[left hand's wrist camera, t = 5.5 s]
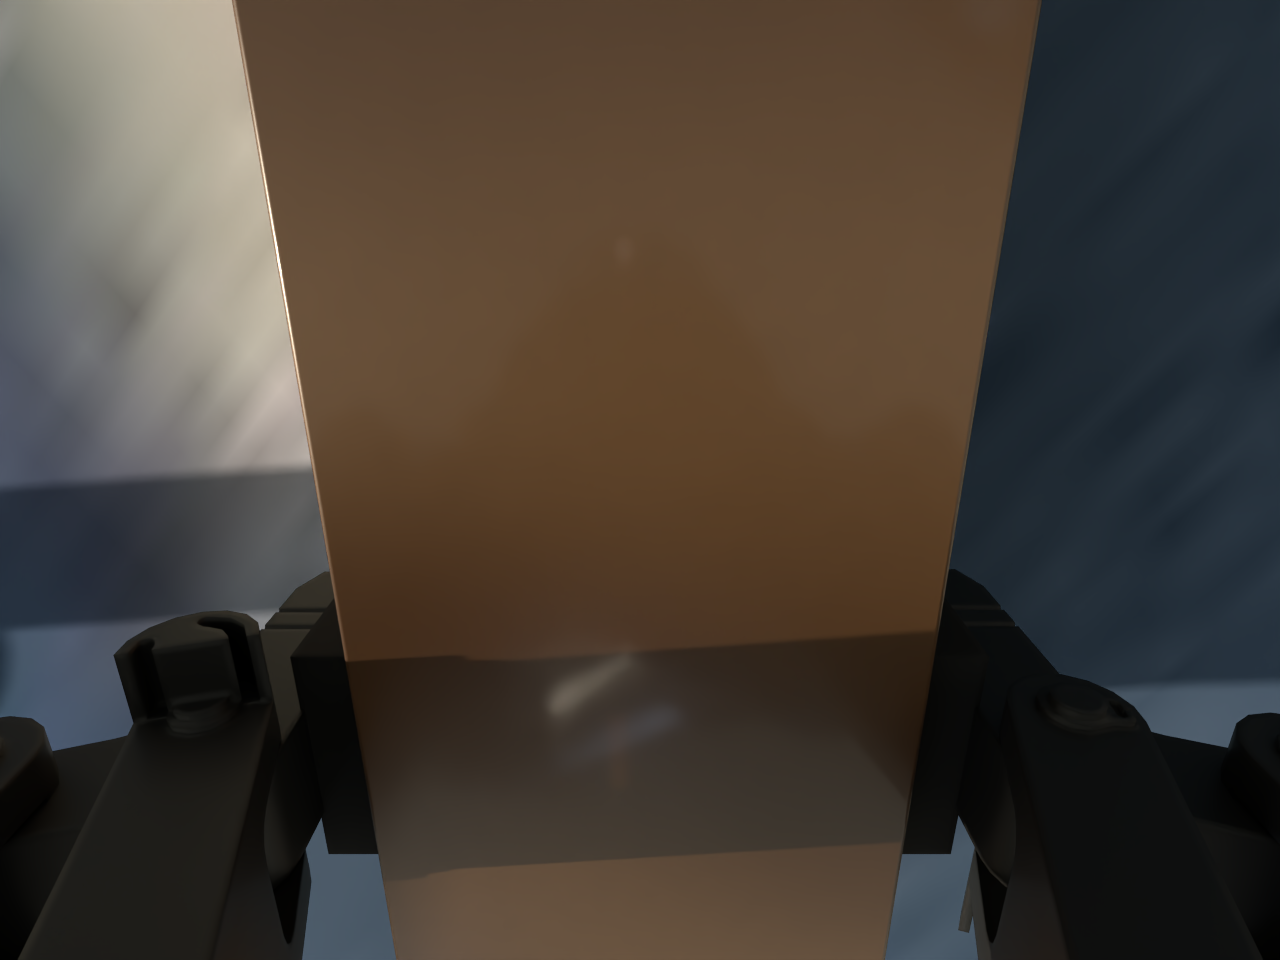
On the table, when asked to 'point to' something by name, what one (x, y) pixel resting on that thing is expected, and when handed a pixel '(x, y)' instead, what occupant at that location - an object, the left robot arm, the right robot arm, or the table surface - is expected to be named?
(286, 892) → the left robot arm
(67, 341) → the table surface
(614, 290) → the brown wooden beam
